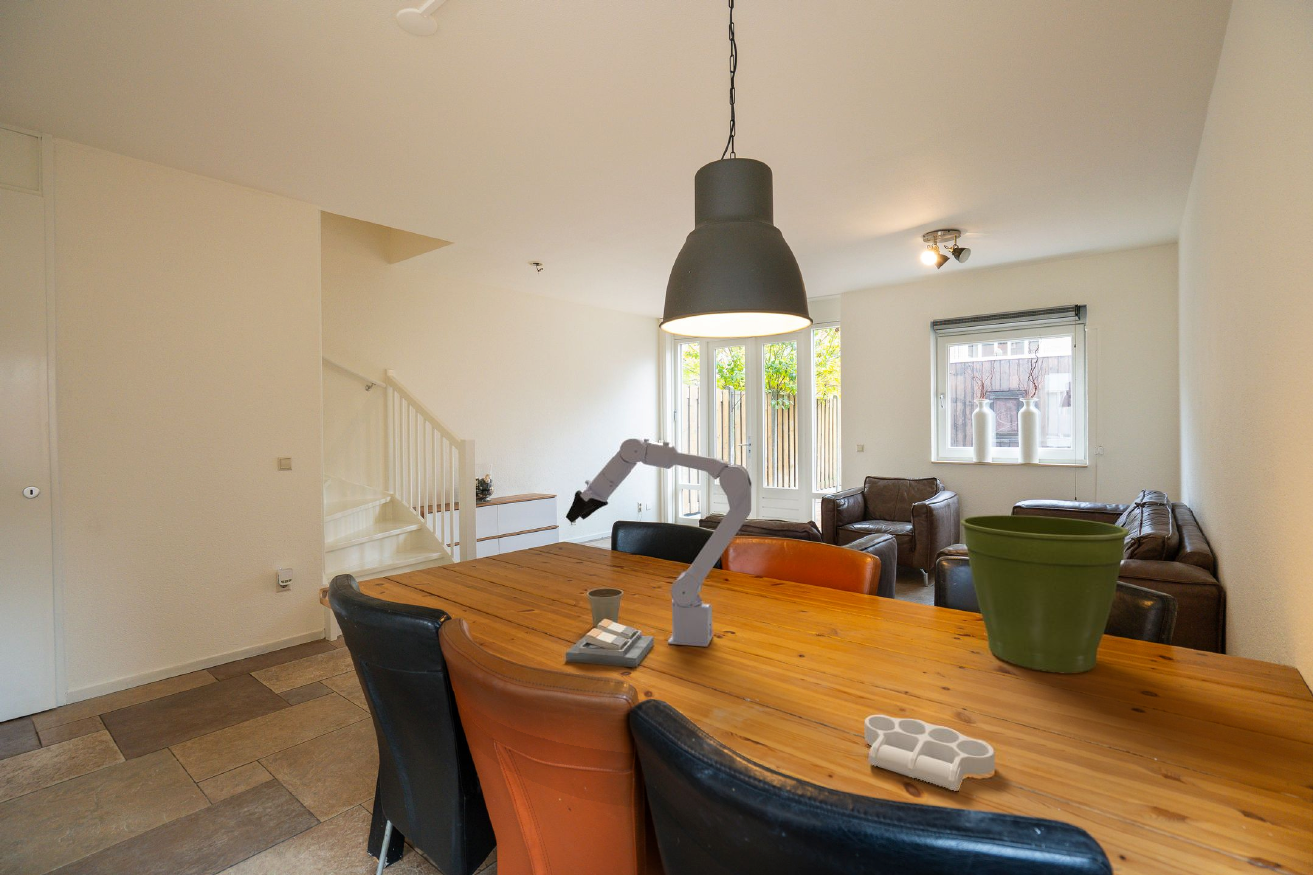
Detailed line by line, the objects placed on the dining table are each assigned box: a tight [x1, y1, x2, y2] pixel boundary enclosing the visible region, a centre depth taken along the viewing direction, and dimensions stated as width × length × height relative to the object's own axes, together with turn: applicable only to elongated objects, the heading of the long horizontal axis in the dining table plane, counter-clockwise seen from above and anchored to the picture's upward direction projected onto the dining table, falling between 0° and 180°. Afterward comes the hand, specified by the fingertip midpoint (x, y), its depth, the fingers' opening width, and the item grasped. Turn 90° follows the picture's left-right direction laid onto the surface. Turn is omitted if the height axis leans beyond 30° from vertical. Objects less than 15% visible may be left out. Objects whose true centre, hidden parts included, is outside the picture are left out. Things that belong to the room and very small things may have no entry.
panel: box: [565, 629, 655, 668], centre depth 133 cm, size 16×14×3 cm
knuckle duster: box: [864, 714, 996, 792], centre depth 88 cm, size 3×18×15 cm
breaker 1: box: [585, 627, 627, 650], centre depth 130 cm, size 8×4×2 cm, turn 75°
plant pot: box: [960, 514, 1129, 674], centre depth 126 cm, size 30×30×29 cm
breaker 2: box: [596, 619, 637, 640], centre depth 137 cm, size 8×4×2 cm, turn 75°
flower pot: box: [586, 587, 624, 629], centre depth 153 cm, size 9×9×9 cm
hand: (575, 518), depth 147 cm, fingers open, 7 cm apart
